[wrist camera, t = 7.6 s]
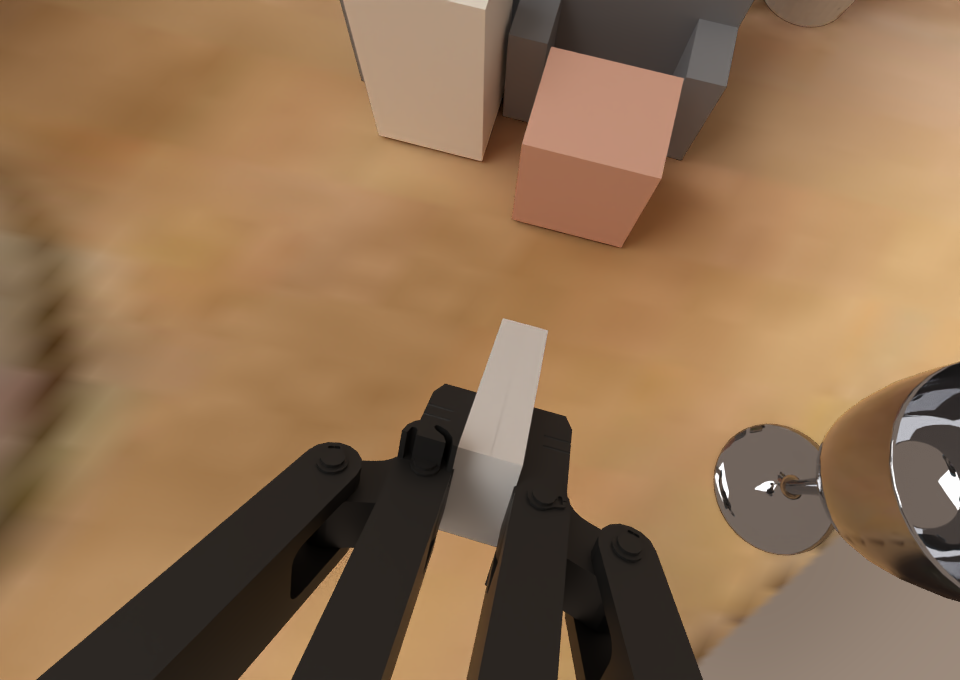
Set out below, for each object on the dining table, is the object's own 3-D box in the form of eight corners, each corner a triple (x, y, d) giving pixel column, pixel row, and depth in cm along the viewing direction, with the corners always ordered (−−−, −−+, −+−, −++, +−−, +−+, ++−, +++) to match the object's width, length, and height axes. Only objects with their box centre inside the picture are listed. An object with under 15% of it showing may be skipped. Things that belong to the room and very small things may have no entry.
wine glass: (733, 578, 31) (961, 652, 16) (687, 433, 33) (854, 385, 18) (871, 544, 31) (1209, 585, 17) (817, 403, 33) (1078, 333, 19)
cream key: (378, 135, 38) (336, -26, 26) (406, 61, 39) (378, -123, 27) (482, 161, 37) (485, 9, 26) (506, 85, 39) (519, -91, 27)
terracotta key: (511, 219, 36) (521, 143, 28) (535, 138, 38) (551, 46, 30) (620, 247, 36) (661, 178, 28) (640, 165, 37) (683, 78, 29)
